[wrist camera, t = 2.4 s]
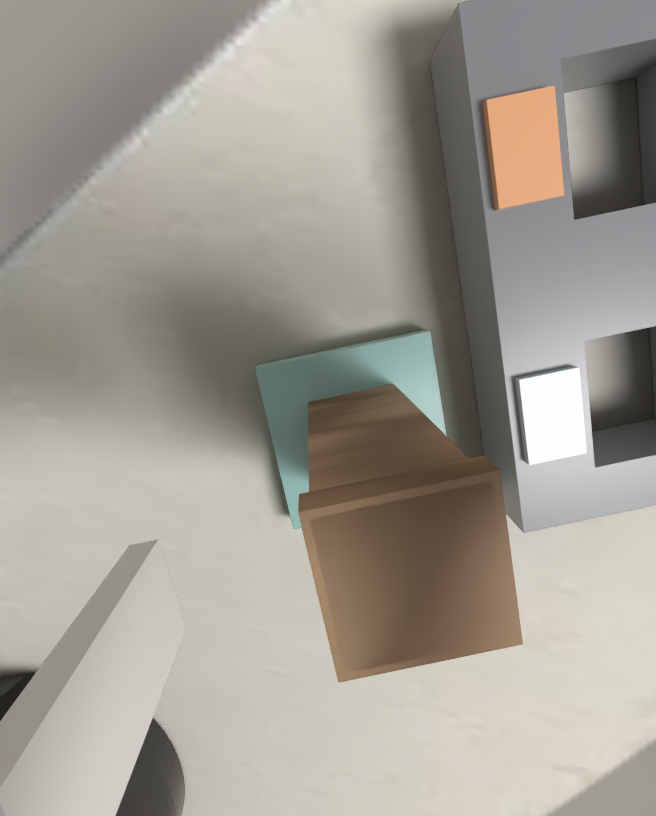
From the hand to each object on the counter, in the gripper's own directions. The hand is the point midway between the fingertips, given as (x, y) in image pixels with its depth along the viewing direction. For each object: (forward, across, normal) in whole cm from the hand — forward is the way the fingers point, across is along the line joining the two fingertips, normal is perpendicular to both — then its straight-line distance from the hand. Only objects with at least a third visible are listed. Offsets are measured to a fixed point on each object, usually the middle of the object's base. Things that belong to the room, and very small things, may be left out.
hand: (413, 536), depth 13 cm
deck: (+11, 0, 0) cm, 11 cm away
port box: (+12, +12, +5) cm, 17 cm away
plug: (+10, 0, 0) cm, 10 cm away
